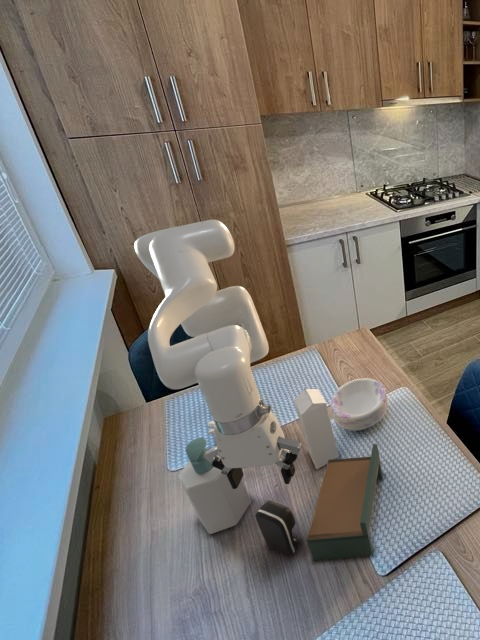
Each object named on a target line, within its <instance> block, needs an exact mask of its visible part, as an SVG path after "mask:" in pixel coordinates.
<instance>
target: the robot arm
mask: <svg viewBox="0 0 480 640" xmlns="http://www.w3.org/2000/svg"><path fill="white" fill-rule="evenodd" d="M133 243H134V245H133V247H134V251H135V254H136V256H137V258H138V259H139V260H140V262H141V263H142V264H143V266H145V268H146V269H147V270H148V271H149V272H151V274H153V275H154V276H155V277H156V278H157V279H158V280H159V282H160V285H161V288H162V291H163V293H164V298H163V300H162V301H161V303H159V305H158V307H157V308H156V310H155V311H154V314H153V316H152V317H151V320H150V323H149V325H148V330H147V342H148V348H149V350H150V353H151V357H152V361H153V364H154V367H155V370H156V373H157V376H158V377H159V380H160V382H162V384H163V385H164V386H165V387H166V388H168V389H170V390H181V389H184V388H187V387H190V386H193V385H195V384H197V385H198V386H199V390H200V392H201V393H202V396H203V398H204V402H205V403H206V406H207V408H208V411H209V413H210V416H211V417H212V420H210V421H209V422H208V424H207V428H208V431H207V432H208V435H209V436H212V435H214V443H215V445H214V446H212V447H211V448H207V449H208V450H207V451H206V453H205V455H204V456H203V457H204V458H205V459H206V460H207V461H208V462H210V463H212V466H213V467H215V468H218V469H220V470H222V471H221V473H222V474H224V475H227V477H228V480H229V482H230V484H231V486H232V488H233V489H236V488H238V486H239V484H240V481H241V479H242V480H243V477H244V476H245V475H244V472H243V469H242V468H253V467H254V468H255V467H265V466H272V465H276V466H278V467H280V468H281V469H280V473H281V477H282V479H283V482H284V484H285V485H290V483H291V481H292V478H293V477H294V476H295V474H296V467H295V464H294V462H296V460H297V459H298V456H299V454H300V452H301V449H302V447H303V443H302V442H301V441H297V440H293V439H290V438H286V437H285V433H284V431H283V429H282V427H281V424H280V423H279V420H278V418H277V417H276V416H275V414H274V412H273V411H272V407H271V405H270V404H264V401H263V399H262V397H261V395H260V394H261V393H260V392H259V389H258V386H257V383H256V379H255V376H254V373H253V371H252V368H251V364H252V363H255V362H257V361H260V360H261V359H263V358H265V357H266V356H267V355H268V353H269V351H270V348H269V342H268V341H269V340H268V339H267V336H266V333H265V330H264V328H263V325H262V323H261V319H260V317H259V314H258V311H257V309H256V306H255V303H254V300H253V298H252V295H250V293H249V291H248V290H247V289H246V288H244V287H243V286H240V285H233V286H229V287H225V288H222V289H219V290H218V284H217V280H216V279H215V277H214V273H213V272H212V270H211V267H210V265H209V263H212V262H216V261H219V260H224V259H227V258H230V257H232V256H233V255H234V253H235V250H236V249H235V248H236V247H235V246H236V245H235V242H234V238H233V235H232V234H231V232H230V230H229V228H228V227H227V226H226V225H225V224H224V223H223V222H222V221H220V220H218V219H207V220H201V221H197V222H193V223H188V224H183V225H178V226H173V227H172V226H171V227H169V228H164V229H159V230H155V231H152V232H149V233H146V234H143V235H142V236H139V237H138V238H136V239H135V241H134V242H133ZM180 325H181V327H182V329H183V331H184V332H185V334H186V335H187V336H188V337H190V338H189V339H186V340H183V341H181V342H177V343H176V344H173V345H171V343H170V340H171V337H172V335H173V334H174V332H175V331H176V329H178V327H179V326H180ZM281 456H283V457H284V459H282V458H281Z"/></svg>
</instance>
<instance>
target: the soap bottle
mask: <svg viewBox="0 0 480 640" xmlns="http://www.w3.org/2000/svg"><path fill="white" fill-rule="evenodd" d="M207 442H208V441H207V439H206V438H205V437H197V438H194V439H193V440H191V441H190V442H189V443H188V444H187V445H186V446H185V453H186V456H187V458H188V462H187V464H186V465H185V466H184V467H183V468H182V470H181V471H180V472H179V473H178V475H177V478H178V480H179V482H180V484H181V487H182V488H183V490H184V492H185V494H186V495H187V497H188V500H189V501H190V503H191V505H192V507H193V509H194V511H195V514H196V515H197V517H198V519H199V521H200V522H201V524H202V526H203V527H204V529H205V530H206V532H207V533H208V534H209V535H212V534H214V533H218V532H221V531H223V530H226V529H229V528H232V527H234V526H235V527H236V526H237V524H238V523H239V522H240V520H241V519H242V517H243V515H244V514H245V512H246V511H247V510H248V507H249V506H250V504H251V498H250V496H249V493H248V491H247V489H246V486H245V484H244V482H243V478H242V479H241V481H240V484H239V486H238V488H236V489H233V488H232V486H231V484H230V482H229V480H228V477H227V475H224V474H222V473H221V471H222V470H220V469H218V468H215V467H213V466H212V463H210V462H208V461H207V460H206V459H205V458H204V457H203V456H204V455H205V453H206V451H207V450H208V449H209V448H208V447H207V448H206V445H207Z"/></svg>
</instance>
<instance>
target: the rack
mask: <svg viewBox="0 0 480 640" xmlns="http://www.w3.org/2000/svg"><path fill="white" fill-rule="evenodd" d="M379 452H380V451H379V447H378V443H374V444H372V447H371V453H370V456H359V457H347V458H346V457H344V458H336V459H332V460H328V463H327V464H326V468H325V472H324V475H323V478H322V483H321V487H320V490H319V494H318V498H317V501H316V505H315V509H314V511H313V516H312V520H311V524H310V527H309V531H308V533H307V534H308V535H307V538H306V542H307V545H308V548H309V551H310V554H311V556H312V560H313V561H323V560H334V559H345V558H355V557H367V556H373V554H374V547H373V543H372V539H371V534H370V531H371V522H372V517H373V509H374V503H375V494H376V489H377V481H378V480H382V479H383V476H384V475H383V468H382V463H381V458H380V453H379Z"/></svg>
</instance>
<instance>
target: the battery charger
mask: <svg viewBox="0 0 480 640" xmlns="http://www.w3.org/2000/svg"><path fill="white" fill-rule="evenodd" d="M254 517H255V520H256V523H257V525H258V528H259V531H260V532H261V535H262V536H263V539H264V541H265V543H266V547H267V546H268V547H269V548H271V549H274V550H276V551H278V552H280V553H282V554H285V555H287V556H289V557H291V556H292V555H293V554H295V552H296V550H297V548H298V546H299V545H300V544H299V543H300V541H299V539H298V538H297V537H295V536H293V529H294V528H295V526H296V519H295V516H294V514H293V511H292V509H290V508H289V507H288V506H285V505H282V504H281V503H278V502H275V501H273V500H267V501H265V503H263V505H262V506H261V507H260V508H259V509H257V511H256V513H255V516H254Z"/></svg>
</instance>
